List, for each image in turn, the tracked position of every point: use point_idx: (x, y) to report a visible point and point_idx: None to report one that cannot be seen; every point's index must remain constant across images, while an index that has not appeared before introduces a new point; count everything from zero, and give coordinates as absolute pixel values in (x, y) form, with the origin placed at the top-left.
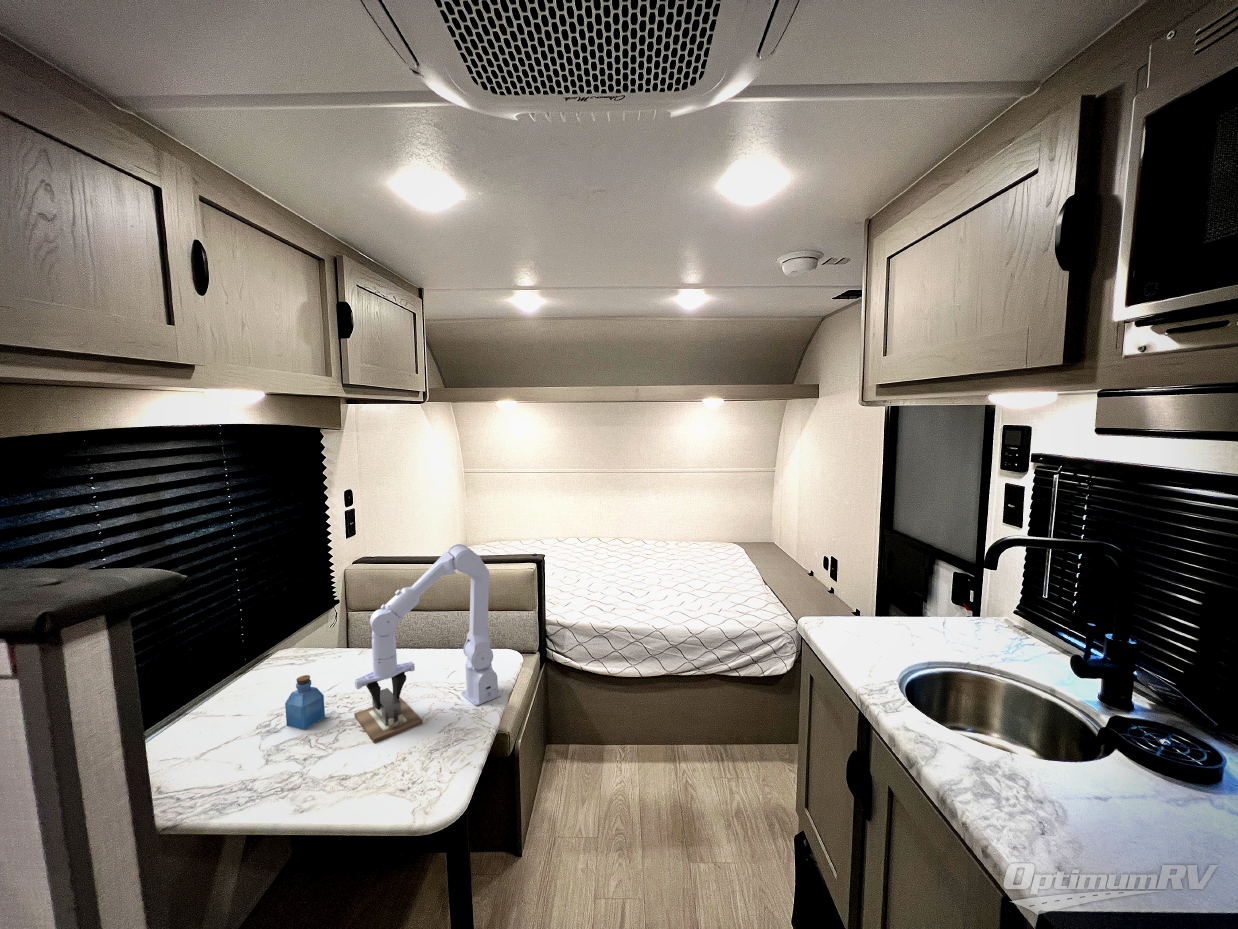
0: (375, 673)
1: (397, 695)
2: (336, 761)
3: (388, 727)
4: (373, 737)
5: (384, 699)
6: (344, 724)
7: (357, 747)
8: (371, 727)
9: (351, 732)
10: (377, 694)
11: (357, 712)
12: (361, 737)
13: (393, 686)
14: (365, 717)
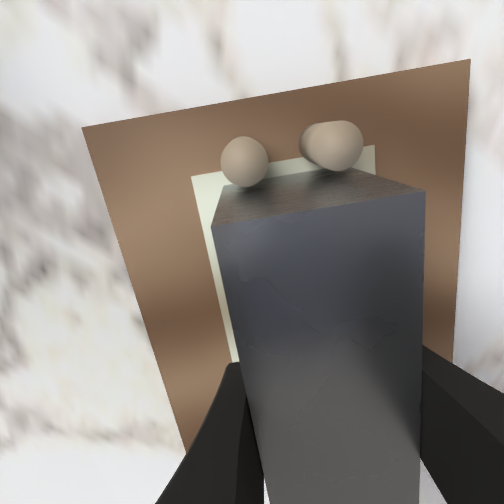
0: None
1: (440, 476)
2: (42, 499)
3: None
4: None
5: (312, 444)
6: (31, 194)
7: (125, 454)
8: (194, 382)
9: (88, 317)
10: None
11: (105, 125)
12: (143, 390)
13: (493, 472)
14: (165, 246)
